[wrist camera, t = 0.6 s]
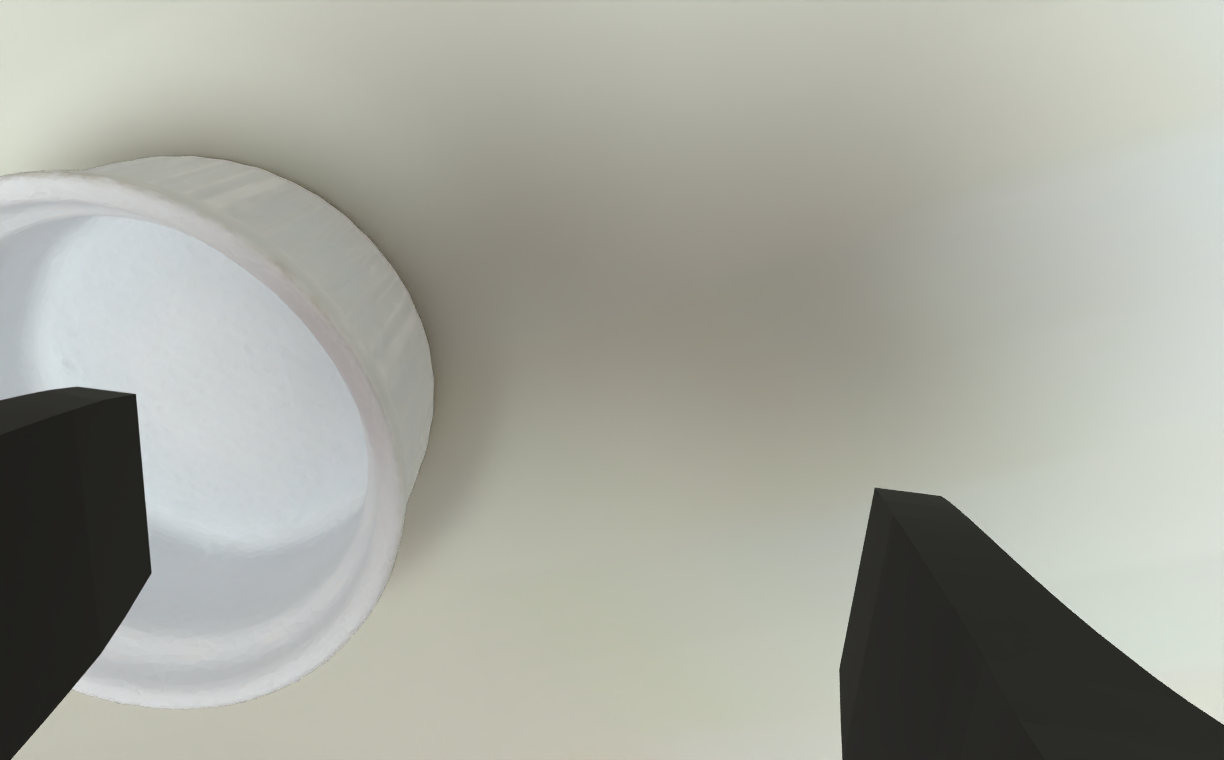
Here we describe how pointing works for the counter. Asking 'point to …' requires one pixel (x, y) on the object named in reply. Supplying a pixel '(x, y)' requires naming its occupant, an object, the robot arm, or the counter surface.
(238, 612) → the ramekin
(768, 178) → the counter surface
